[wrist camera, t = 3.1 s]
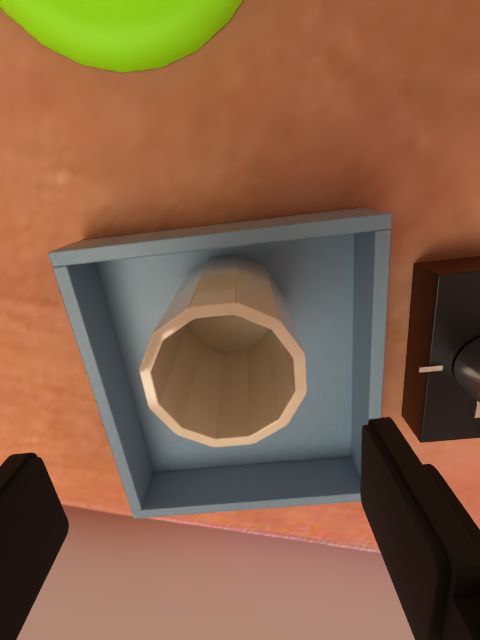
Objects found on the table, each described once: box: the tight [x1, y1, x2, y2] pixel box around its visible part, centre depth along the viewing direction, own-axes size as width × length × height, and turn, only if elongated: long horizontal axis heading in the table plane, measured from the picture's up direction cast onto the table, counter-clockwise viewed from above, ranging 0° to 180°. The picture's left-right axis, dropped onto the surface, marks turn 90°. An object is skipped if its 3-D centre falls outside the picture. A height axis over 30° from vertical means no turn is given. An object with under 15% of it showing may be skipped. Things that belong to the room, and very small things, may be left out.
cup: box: [139, 255, 307, 447], centre depth 18 cm, size 7×7×9 cm
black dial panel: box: [402, 256, 480, 443], centre depth 22 cm, size 12×8×3 cm
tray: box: [48, 207, 392, 518], centre depth 23 cm, size 20×18×4 cm
